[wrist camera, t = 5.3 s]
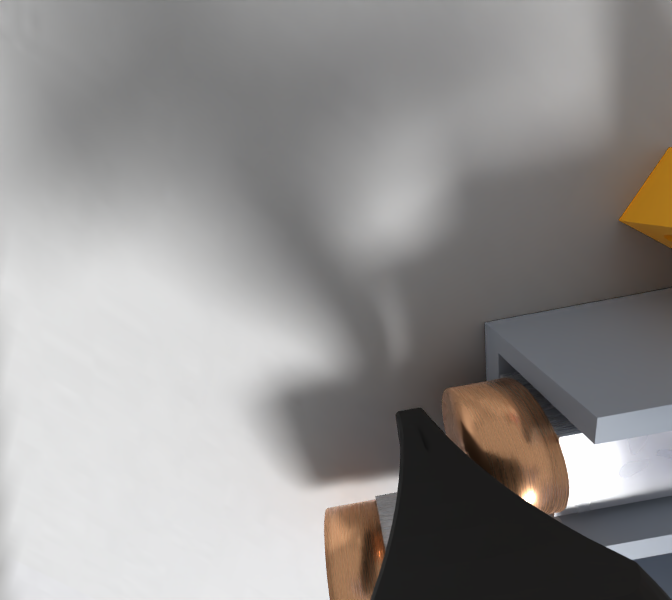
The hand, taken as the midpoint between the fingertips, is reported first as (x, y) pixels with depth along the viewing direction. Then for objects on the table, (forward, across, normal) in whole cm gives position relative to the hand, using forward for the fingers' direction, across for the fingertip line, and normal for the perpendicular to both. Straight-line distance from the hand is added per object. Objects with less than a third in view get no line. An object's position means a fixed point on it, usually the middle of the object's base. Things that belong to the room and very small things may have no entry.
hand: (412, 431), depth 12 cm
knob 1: (+1, -5, 0) cm, 5 cm away
